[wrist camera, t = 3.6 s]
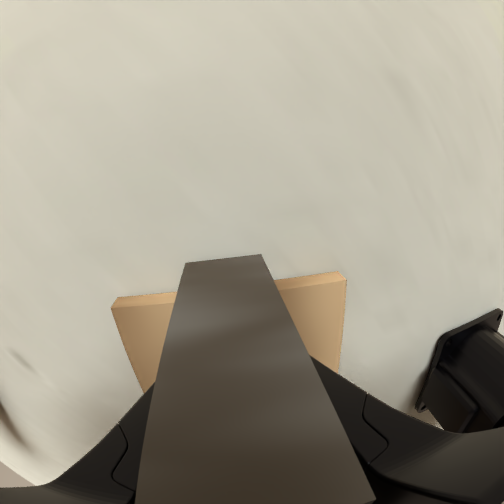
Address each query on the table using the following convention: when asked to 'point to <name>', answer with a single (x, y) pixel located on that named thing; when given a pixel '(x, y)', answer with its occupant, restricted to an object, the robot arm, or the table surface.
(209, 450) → the scraper
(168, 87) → the table surface
